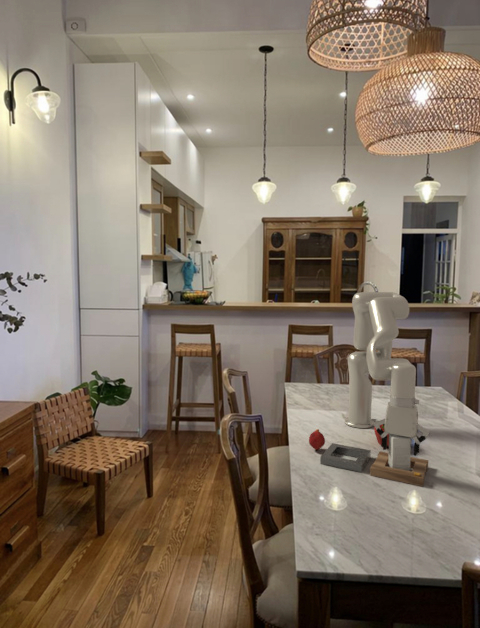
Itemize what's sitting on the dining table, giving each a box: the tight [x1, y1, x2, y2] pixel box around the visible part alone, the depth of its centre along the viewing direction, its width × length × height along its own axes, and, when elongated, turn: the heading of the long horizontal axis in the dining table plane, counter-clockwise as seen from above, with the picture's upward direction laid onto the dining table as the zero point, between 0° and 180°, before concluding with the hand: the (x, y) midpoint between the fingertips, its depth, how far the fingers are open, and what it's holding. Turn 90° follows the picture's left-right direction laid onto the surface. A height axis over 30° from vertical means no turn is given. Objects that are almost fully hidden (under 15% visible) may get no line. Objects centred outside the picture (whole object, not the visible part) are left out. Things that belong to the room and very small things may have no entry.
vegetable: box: [373, 420, 389, 448], centre depth 171 cm, size 11×10×10 cm
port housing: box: [369, 451, 429, 487], centre depth 149 cm, size 16×16×3 cm
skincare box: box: [387, 434, 412, 471], centre depth 149 cm, size 6×4×12 cm
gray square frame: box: [319, 442, 372, 473], centre depth 158 cm, size 14×14×2 cm
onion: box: [308, 428, 326, 451], centre depth 167 cm, size 6×6×8 cm
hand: (399, 451), depth 149 cm, fingers open, 9 cm apart
